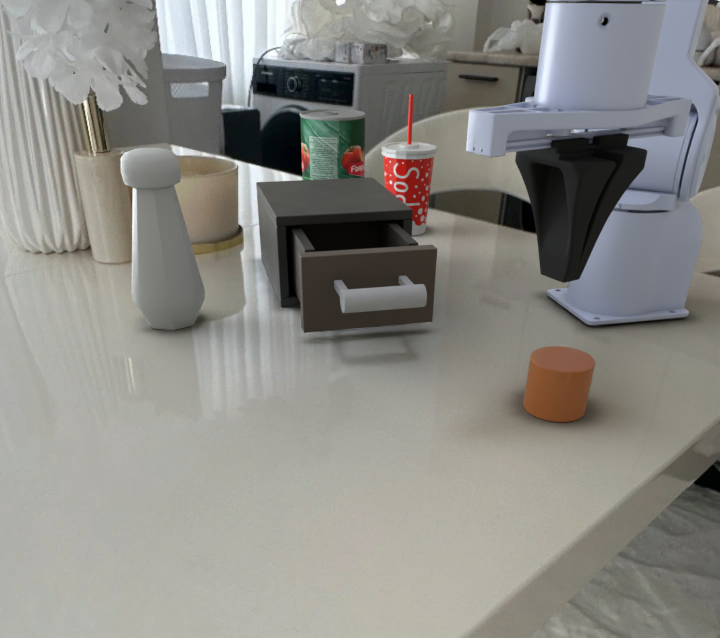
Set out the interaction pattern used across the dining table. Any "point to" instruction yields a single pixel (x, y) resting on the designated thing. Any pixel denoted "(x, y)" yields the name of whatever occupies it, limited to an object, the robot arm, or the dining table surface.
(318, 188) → the open desk drawer box
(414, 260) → the pod drawer
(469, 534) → the dining table surface
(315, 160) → the canned tomato
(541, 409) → the cylinder
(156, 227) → the salt shaker
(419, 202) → the beverage cup
